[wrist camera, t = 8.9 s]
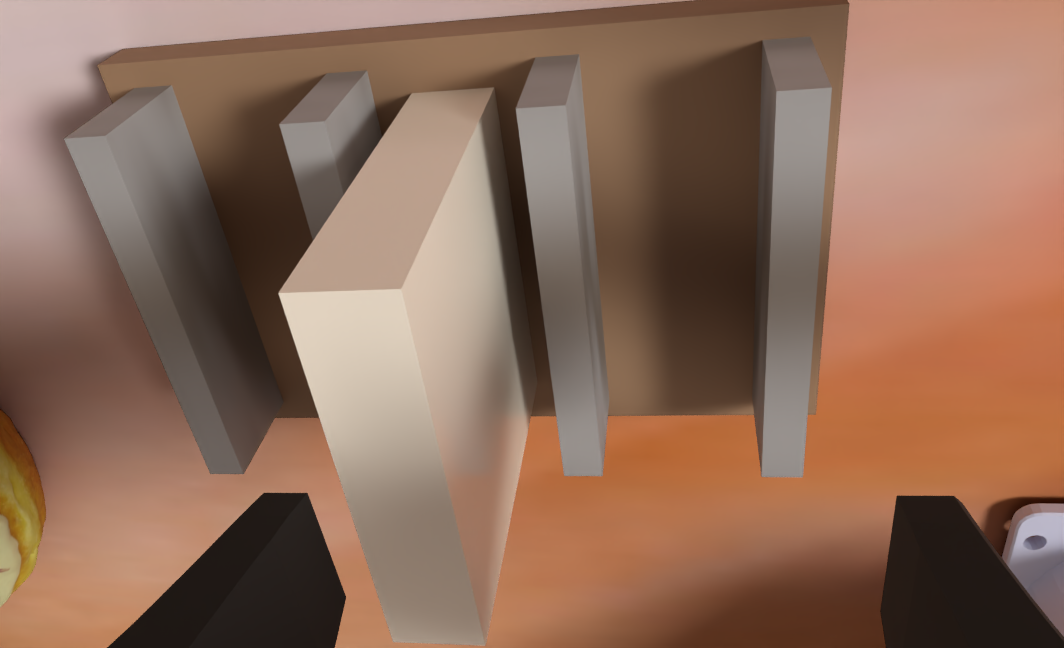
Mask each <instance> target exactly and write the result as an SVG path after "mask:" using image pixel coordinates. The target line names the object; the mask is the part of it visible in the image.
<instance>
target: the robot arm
mask: <svg viewBox="0 0 1064 648" xmlns="http://www.w3.org/2000/svg"><path fill="white" fill-rule="evenodd" d="M1035 535H1036V536H1035ZM1030 536H1035V537H1030ZM1028 537H1030V538H1028ZM345 600H346V596H345V593H344V590H343V588H342V585H341V582H340V580H339V577H338V574H337V572H336V569H335V566H334V563H333V561H332V558H331V555H330V553H329V550H328V547H327V545H326V542H325V539H324V536H323V534H322V531H321V528H320V526H319V523H318V520H317V518H316V515H315V512H314V510H313V507H312V504H311V501H310V499H309V496H308V493H263V494H262V495H261V496H260V497H259V498H258V499H257V500H256V501H255V502H254V503H253V504H252V505H251V506H250V507H249V508H248V509H247V510H246V511H245V512H244V513H243V514H242V515H241V516H240V517H239V518H238V519H237V520H236V521H235V522H234V523H233V524H232V525H231V526H230V527H229V528H228V529H227V530H226V531H225V532H224V533H223V534H222V535H221V536H220V537H219V538H218V539H217V540H216V541H215V542H214V543H213V544H212V545H211V546H210V548H209V549H208V550H207V551H206V552H205V553H204V554H203V555H202V556H201V557H200V558H199V559H198V560H197V561H196V562H195V563H194V564H193V565H192V566H191V567H190V568H189V569H188V570H187V571H186V572H185V573H184V574H183V575H182V576H181V577H180V578H179V579H178V580H177V581H176V582H175V583H174V584H173V585H172V586H171V587H170V588H169V589H168V590H167V591H166V592H165V593H164V594H163V595H162V596H161V597H160V598H159V599H158V600H157V601H156V602H155V603H154V604H153V605H152V606H151V607H150V608H149V609H148V610H147V611H146V612H145V613H144V614H143V615H142V616H141V617H140V618H139V619H138V620H136V621H135V622H134V623H133V624H132V625H131V626H130V627H129V628H128V629H127V630H126V631H125V632H124V633H123V634H122V635H120V636H119V637H118V638H117V639H116V640H115V641H114V642H113V643H112V644H111V645H110V646H109V647H107V648H335V644H336V640H337V635H338V631H339V626H340V622H341V617H342V613H343V609H344V604H345ZM880 612H881V618H882V625H883V631H884V637H885V644H886V648H1064V504H1048V503H1036V504H1029V505H1026V506H1024V507H1022V508H1020V509H1019V510H1018V511H1016V512H1015V514H1014V516H1013V517H1012V521H1011V525H1010V528H1009V532H1008V536H1007V540H1006V544H1005V547H1004V551H1003V555H1002V558H1001V556H1000V555H999V554H998V552H997V551H996V550H995V548H994V547H993V546H992V544H991V543H990V541H989V540H988V539H987V537H986V536H985V535H984V533H983V532H982V530H981V529H980V528H979V526H978V525H977V523H976V522H975V521H974V519H973V518H972V516H971V515H970V514H969V512H968V511H967V509H966V508H965V506H964V505H963V504H962V503H961V502H960V501H959V500H958V499H957V498H956V497H954V496H897V498H896V505H895V512H894V520H893V527H892V534H891V541H890V548H889V555H888V562H887V569H886V576H885V583H884V590H883V597H882V604H881V611H880Z"/></svg>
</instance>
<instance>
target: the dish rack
mask: <svg viewBox="0 0 1064 648" xmlns="http://www.w3.org/2000/svg"><path fill="white" fill-rule="evenodd" d="M848 13H849V3H848V1H847V0H696V1H685V2H673V3H661V4H649V5H637V6H626V7H614V8H602V9H590V10H578V11H567V12H555V13H543V14H531V15H519V16H508V17H496V18H484V19H472V20H460V21H449V22H437V23H425V24H413V25H401V26H390V27H378V28H366V29H354V30H342V31H331V32H319V33H307V34H295V35H283V36H272V37H260V38H248V39H236V40H224V41H213V42H201V43H189V44H177V45H165V46H154V47H142V48H130V49H122V50H121V51H119V52H118V53H116V54H114V55H113V56H111V57H110V58H108V59H106V60H105V61H103V62H102V63H100V64H98V65H97V66H98V69H99V71H100V74H101V76H102V79H103V81H104V84H105V86H106V89H107V91H108V94H109V96H110V99H111V101H112V105H110V106H109V107H107V108H106V109H105V110H103V111H102V112H100V113H99V114H98V115H96V116H95V117H93V118H92V119H91V120H89V121H88V122H86V123H85V124H84V125H82V126H81V127H79V128H78V129H77V130H75V131H74V132H72V133H71V134H70V135H68V136H67V137H65V138H64V140H65V143H66V145H67V147H68V149H69V152H70V154H71V156H72V159H73V161H74V163H75V165H76V168H77V170H78V172H79V175H80V177H81V179H82V181H83V184H84V186H85V188H86V191H87V193H88V195H89V197H90V200H91V202H92V204H93V207H94V209H95V211H96V213H97V216H98V218H99V220H100V223H101V225H102V227H103V229H104V232H105V234H106V236H107V239H108V241H109V243H110V245H111V248H112V250H113V252H114V255H115V257H116V259H117V261H118V264H119V266H120V268H121V271H122V273H123V275H124V277H125V280H126V282H127V284H128V287H129V289H130V291H131V293H132V296H133V298H134V300H135V303H136V305H137V307H138V309H139V312H140V314H141V316H142V319H143V321H144V323H145V325H146V328H147V330H148V332H149V335H150V337H151V339H152V341H153V344H154V346H155V348H156V351H157V353H158V355H159V357H160V360H161V362H162V364H163V367H164V369H165V371H166V373H167V376H168V378H169V380H170V383H171V385H172V387H173V389H174V392H175V394H176V396H177V399H178V401H179V403H180V405H181V408H182V410H183V412H184V415H185V417H186V419H187V421H188V424H189V426H190V428H191V430H192V433H193V435H194V437H195V440H196V442H197V444H198V446H199V449H200V451H201V453H202V456H203V458H204V460H205V462H206V465H207V467H208V469H209V472H210V474H244V472H245V471H246V469H247V467H248V465H249V463H250V462H251V460H252V458H253V456H254V454H255V453H256V451H257V449H258V447H259V445H260V444H261V442H262V440H263V438H264V436H265V435H266V433H267V431H268V429H269V427H270V426H271V424H272V422H273V420H274V418H319V415H318V412H317V409H316V406H315V403H314V400H313V397H312V394H311V391H310V388H309V385H308V382H307V379H306V376H305V373H304V370H303V367H302V364H301V361H300V357H299V354H298V351H297V348H296V345H295V342H294V339H293V336H292V333H291V330H290V327H289V324H288V321H287V318H286V315H285V312H284V309H283V306H282V303H281V300H280V297H279V294H278V293H279V291H280V290H281V288H282V287H283V285H284V284H285V282H286V281H287V279H288V278H289V276H290V275H291V273H292V272H293V270H294V269H295V267H296V266H297V264H298V263H299V261H300V260H301V258H302V257H303V255H304V254H305V252H306V251H307V249H308V248H309V246H310V245H311V243H312V242H313V240H314V239H315V237H316V236H317V234H318V233H319V231H320V230H321V228H322V227H323V225H324V224H325V222H326V221H327V219H328V218H329V216H330V215H331V213H332V212H333V210H334V209H335V207H336V206H337V204H338V203H339V201H340V200H341V198H342V197H343V195H344V194H345V192H346V191H347V189H348V188H349V186H350V185H351V183H352V182H353V180H354V179H355V177H356V176H357V174H358V173H359V171H360V170H361V168H362V167H363V165H364V164H365V162H366V161H367V159H368V158H369V156H370V155H371V153H372V152H373V150H374V149H375V148H376V146H377V145H378V143H379V142H380V140H381V139H382V137H383V136H384V134H385V133H386V131H387V130H388V128H389V127H390V125H391V124H392V122H393V121H394V119H395V118H396V116H397V115H398V113H399V112H400V110H401V109H402V107H403V106H404V104H405V103H406V101H407V100H408V98H409V97H410V95H411V94H412V93H422V92H436V91H450V90H464V89H478V88H492V87H494V88H495V95H496V102H497V109H498V115H499V122H500V129H501V136H502V143H503V150H504V157H505V164H506V170H507V177H508V184H509V191H510V198H511V205H512V212H513V219H514V225H515V232H516V239H517V246H518V253H519V260H520V267H521V274H522V280H523V287H524V294H525V301H526V308H527V315H528V322H529V329H530V335H531V342H532V349H533V356H534V363H535V370H536V377H537V387H536V392H535V398H534V403H533V408H532V413H531V416H556V417H557V425H558V432H559V440H560V447H561V455H562V463H563V470H564V476H603V465H604V454H605V443H606V431H607V420H608V416H658V415H754V417H755V426H756V434H757V443H758V451H759V460H760V468H761V476H762V477H803V469H804V455H805V442H806V428H807V415H816V407H817V394H818V382H819V370H820V357H821V345H822V333H823V321H824V308H825V296H826V284H827V271H828V259H829V247H830V235H831V222H832V210H833V198H834V185H835V173H836V161H837V149H838V136H839V124H840V112H841V99H842V87H843V75H844V62H845V50H846V38H847V26H848Z"/></svg>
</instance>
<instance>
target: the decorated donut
mask: <svg viewBox="0 0 1064 648" xmlns="http://www.w3.org/2000/svg"><path fill="white" fill-rule="evenodd" d="M45 520H46V507H45V499H44V493H43V489H42V486H41V480H40V476H39V474H38V471H37V468H36V466H35V464H34V461H33V458H32V455H31V454H30V452H29V449H28V447H27V445H26V444H25V442H24V441H23V439H22V438H21V436H20V435H19V433H18V432H17V430H16V428H15V427H14V425H13V423H12V421H11V419H10V418H9V417H8V416H7V415H6V414H5V413H4V412H3V411H2V410H1V409H0V607H1V606H2V605H3V604H4V603H5V602H6V601H7V600H8V599H9V597H10V595H11V594H12V593H13V592H14V591H16V590H17V588H18V587H19V586H20V585H21V584H22V583H23V582H24V581H25V580H26V579H27V578H28V577H29V575H30V574H31V573H32V571H33V569H34V567H35V565H36V560H37V554H38V547H39V544H40V541H41V537H42V532H43V526H44V522H45Z"/></svg>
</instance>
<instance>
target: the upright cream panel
mask: <svg viewBox="0 0 1064 648" xmlns="http://www.w3.org/2000/svg"><path fill="white" fill-rule="evenodd" d="M278 294H279V297H280V300H281V303H282V306H283V309H284V312H285V315H286V318H287V321H288V324H289V327H290V330H291V333H292V336H293V339H294V342H295V345H296V348H297V351H298V354H299V357H300V361H301V364H302V367H303V370H304V373H305V376H306V379H307V382H308V385H309V388H310V391H311V394H312V397H313V400H314V403H315V406H316V409H317V412H318V415H319V418H320V421H321V424H322V427H323V430H324V433H325V436H326V439H327V443H328V446H329V449H330V452H331V455H332V458H333V461H334V464H335V467H336V470H337V473H338V476H339V479H340V482H341V485H342V488H343V491H344V494H345V497H346V500H347V503H348V506H349V509H350V512H351V515H352V518H353V521H354V525H355V528H356V531H357V534H358V537H359V540H360V543H361V546H362V549H363V552H364V555H365V558H366V561H367V564H368V567H369V570H370V573H371V576H372V579H373V582H374V585H375V588H376V591H377V594H378V597H379V600H380V603H381V606H382V610H383V613H384V616H385V619H386V622H387V625H388V628H389V631H390V634H391V637H392V640H393V642H404V643H430V644H456V645H482V646H486V642H487V636H488V631H489V626H490V621H491V616H492V611H493V606H494V601H495V596H496V591H497V586H498V581H499V575H500V570H501V565H502V560H503V555H504V550H505V545H506V540H507V535H508V530H509V525H510V520H511V514H512V509H513V504H514V499H515V494H516V489H517V484H518V479H519V474H520V469H521V464H522V459H523V453H524V448H525V443H526V438H527V433H528V428H529V423H530V418H531V413H532V408H533V403H534V398H535V392H536V387H537V377H536V370H535V363H534V356H533V349H532V342H531V335H530V329H529V322H528V315H527V308H526V301H525V294H524V287H523V280H522V274H521V267H520V260H519V253H518V246H517V239H516V232H515V225H514V219H513V212H512V205H511V198H510V191H509V184H508V177H507V170H506V164H505V157H504V150H503V143H502V136H501V129H500V122H499V115H498V109H497V102H496V95H495V88H494V87H492V88H478V89H464V90H450V91H436V92H422V93H412V94H411V95H410V97H409V98H408V100H407V101H406V103H405V104H404V106H403V107H402V109H401V110H400V112H399V113H398V115H397V116H396V118H395V119H394V121H393V122H392V124H391V125H390V127H389V128H388V130H387V131H386V133H385V134H384V136H383V137H382V139H381V140H380V142H379V143H378V145H377V146H376V148H375V149H374V150H373V152H372V153H371V155H370V156H369V158H368V159H367V161H366V162H365V164H364V165H363V167H362V168H361V170H360V171H359V173H358V174H357V176H356V177H355V179H354V180H353V182H352V183H351V185H350V186H349V188H348V189H347V191H346V192H345V194H344V195H343V197H342V198H341V200H340V201H339V203H338V204H337V206H336V207H335V209H334V210H333V212H332V213H331V215H330V216H329V218H328V219H327V221H326V222H325V224H324V225H323V227H322V228H321V230H320V231H319V233H318V234H317V236H316V237H315V239H314V240H313V242H312V243H311V245H310V246H309V248H308V249H307V251H306V252H305V254H304V255H303V257H302V258H301V260H300V261H299V263H298V264H297V266H296V267H295V269H294V270H293V272H292V273H291V275H290V276H289V278H288V279H287V281H286V282H285V284H284V285H283V287H282V288H281V290H280V291H279V293H278Z"/></svg>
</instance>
